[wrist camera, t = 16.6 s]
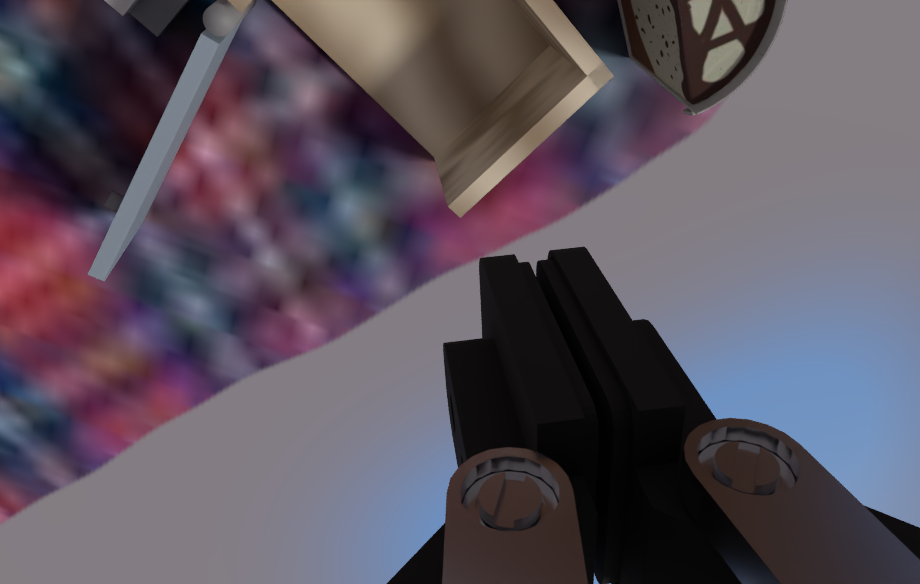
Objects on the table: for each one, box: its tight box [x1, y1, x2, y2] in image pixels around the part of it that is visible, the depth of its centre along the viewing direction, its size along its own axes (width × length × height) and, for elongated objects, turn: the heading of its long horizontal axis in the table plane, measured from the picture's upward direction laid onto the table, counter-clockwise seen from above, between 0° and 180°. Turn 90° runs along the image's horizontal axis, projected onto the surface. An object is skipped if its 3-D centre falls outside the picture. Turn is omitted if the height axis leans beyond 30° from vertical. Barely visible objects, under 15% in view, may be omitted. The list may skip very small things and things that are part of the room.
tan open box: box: [228, 0, 614, 218], centre depth 38 cm, size 11×16×9 cm
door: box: [88, 0, 256, 281], centre depth 39 cm, size 2×17×8 cm, turn 146°
